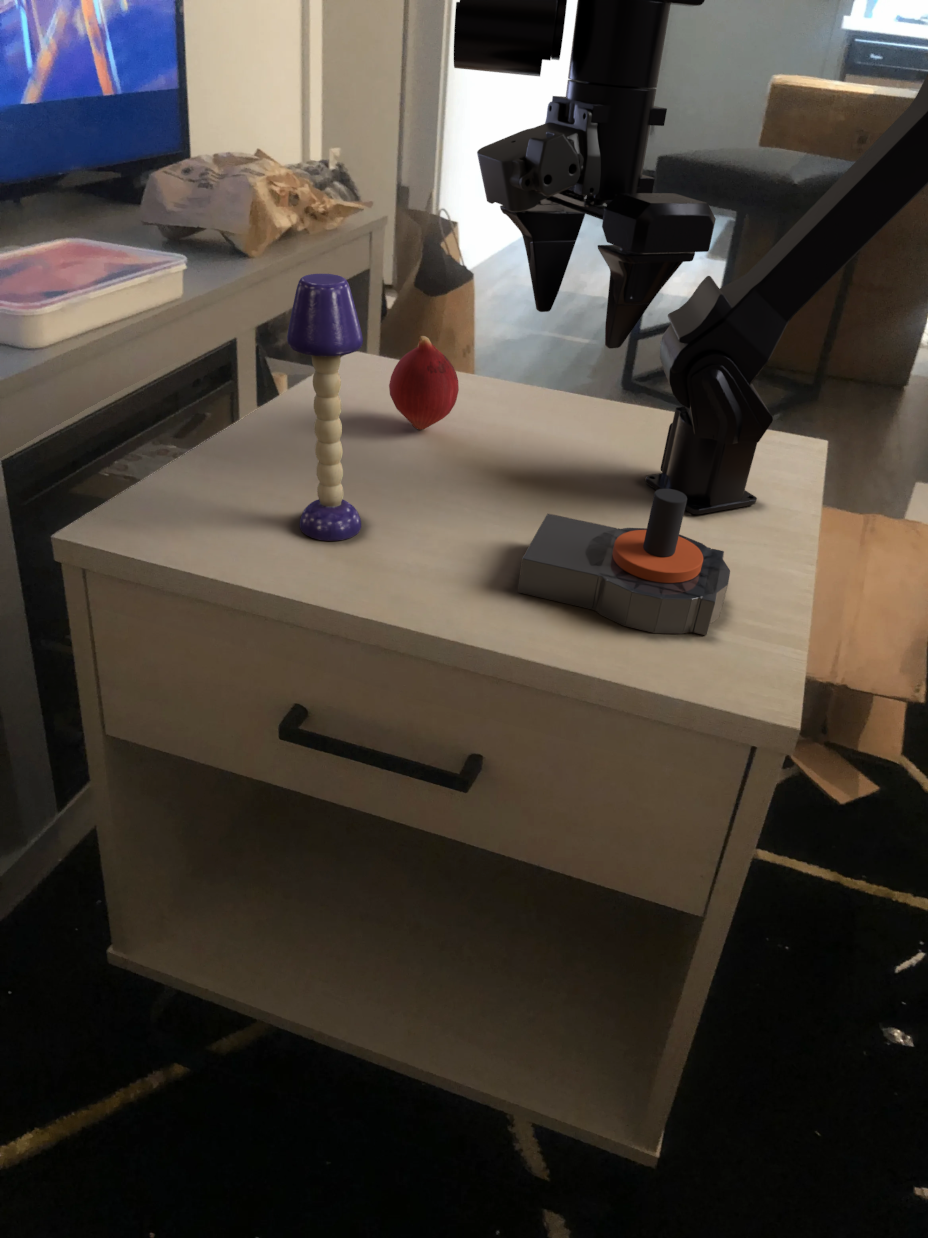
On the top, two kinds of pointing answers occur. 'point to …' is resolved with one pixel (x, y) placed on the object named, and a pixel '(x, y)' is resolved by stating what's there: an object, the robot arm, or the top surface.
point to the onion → (424, 385)
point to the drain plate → (618, 579)
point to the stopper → (660, 544)
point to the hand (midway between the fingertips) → (576, 328)
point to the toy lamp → (326, 393)
